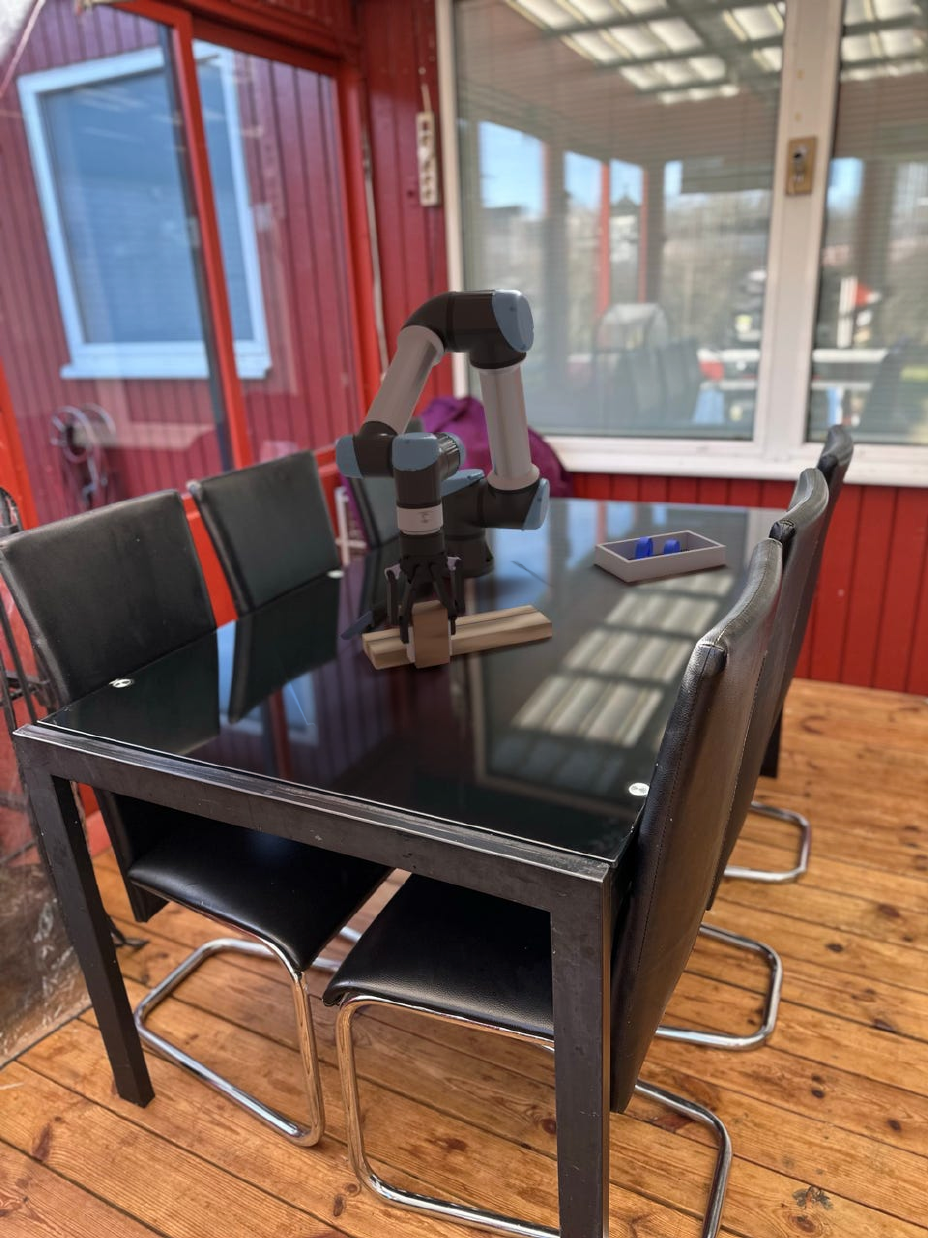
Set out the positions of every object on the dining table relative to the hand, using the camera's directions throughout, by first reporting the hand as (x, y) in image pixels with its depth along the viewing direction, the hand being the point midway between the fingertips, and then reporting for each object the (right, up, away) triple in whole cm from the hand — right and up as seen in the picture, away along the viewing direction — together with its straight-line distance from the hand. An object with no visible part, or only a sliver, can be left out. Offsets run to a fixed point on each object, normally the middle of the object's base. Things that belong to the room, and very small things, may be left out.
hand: (429, 655), depth 156 cm
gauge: (-2, +1, +6) cm, 7 cm away
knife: (-13, +4, +18) cm, 22 cm away
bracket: (+53, +18, +52) cm, 76 cm away
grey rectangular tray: (+51, +19, +48) cm, 72 cm away
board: (+5, +2, +10) cm, 12 cm away
